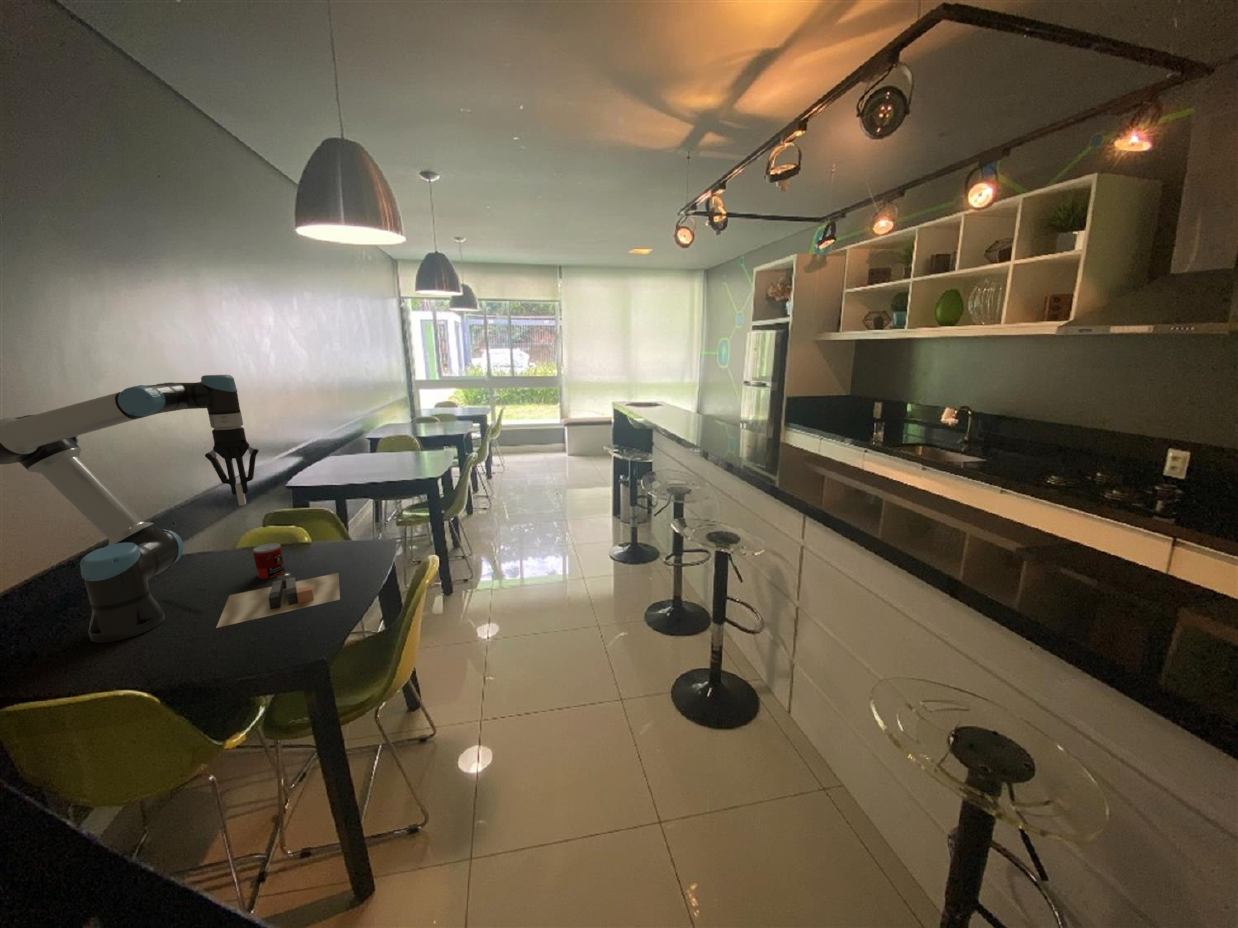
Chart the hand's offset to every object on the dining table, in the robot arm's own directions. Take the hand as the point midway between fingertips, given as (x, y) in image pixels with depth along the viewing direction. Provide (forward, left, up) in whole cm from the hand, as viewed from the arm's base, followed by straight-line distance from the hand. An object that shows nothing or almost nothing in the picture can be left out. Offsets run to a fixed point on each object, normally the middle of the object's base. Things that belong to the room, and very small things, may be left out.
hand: (242, 504), depth 149 cm
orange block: (+13, -15, -29) cm, 35 cm away
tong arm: (+9, -9, -29) cm, 32 cm away
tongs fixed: (+6, -7, -29) cm, 31 cm away
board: (+7, -9, -30) cm, 32 cm away
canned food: (+2, +14, -31) cm, 34 cm away
